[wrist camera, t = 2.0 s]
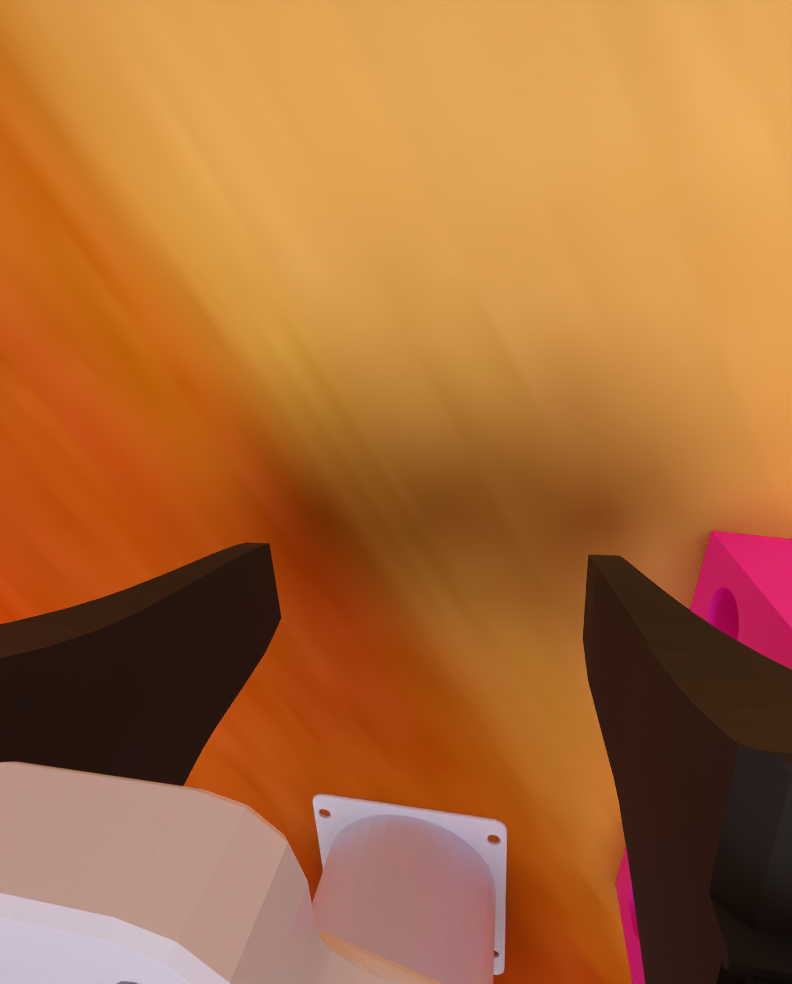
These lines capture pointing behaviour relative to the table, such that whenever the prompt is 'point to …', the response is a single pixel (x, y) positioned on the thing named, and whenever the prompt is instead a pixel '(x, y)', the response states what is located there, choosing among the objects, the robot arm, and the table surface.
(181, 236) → the table surface
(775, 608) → the toy block
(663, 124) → the table surface
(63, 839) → the robot arm
